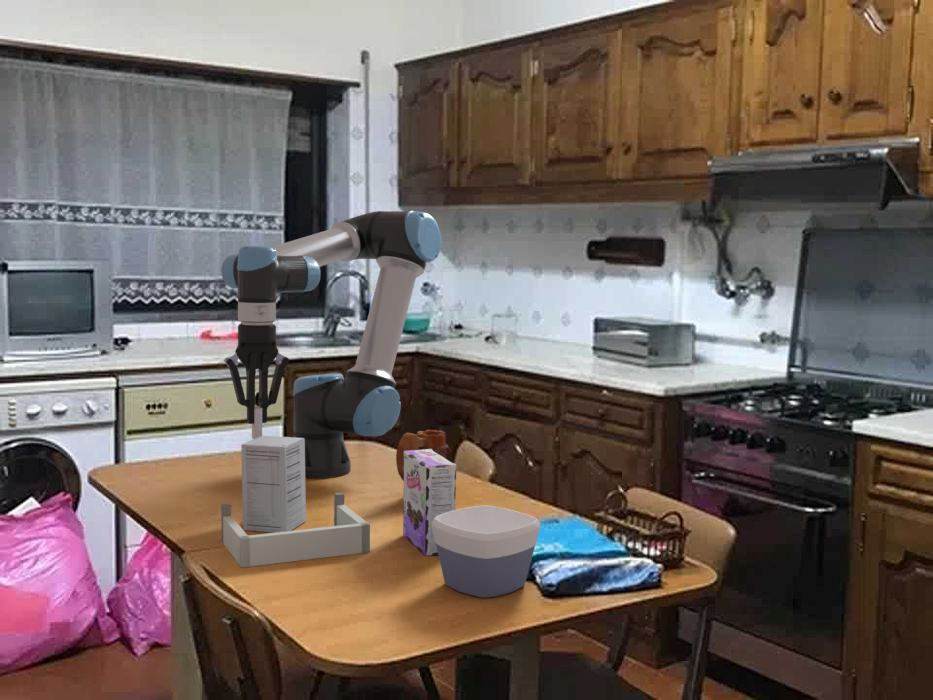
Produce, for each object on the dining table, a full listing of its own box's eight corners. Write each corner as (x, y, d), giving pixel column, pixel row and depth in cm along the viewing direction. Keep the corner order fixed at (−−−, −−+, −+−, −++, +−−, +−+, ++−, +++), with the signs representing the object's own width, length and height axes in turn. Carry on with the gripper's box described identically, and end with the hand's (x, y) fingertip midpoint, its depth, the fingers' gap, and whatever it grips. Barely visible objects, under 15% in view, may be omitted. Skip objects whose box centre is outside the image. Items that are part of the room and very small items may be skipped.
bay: (221, 541, 191) (221, 503, 190) (341, 527, 201) (341, 492, 200) (241, 567, 177) (240, 527, 176) (369, 551, 186) (370, 513, 185)
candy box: (401, 535, 197) (402, 449, 195) (431, 532, 199) (432, 447, 197) (424, 556, 184) (425, 465, 182) (456, 553, 186) (457, 463, 184)
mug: (430, 489, 231) (430, 423, 230) (458, 496, 226) (459, 428, 224) (384, 502, 220) (384, 432, 218) (412, 509, 215) (413, 437, 213)
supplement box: (307, 521, 205) (307, 437, 203) (287, 534, 196) (286, 446, 194) (263, 517, 207) (262, 434, 205) (241, 530, 199) (240, 443, 197)
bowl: (418, 584, 170) (418, 517, 169) (484, 564, 181) (485, 501, 179) (485, 609, 159) (486, 538, 158) (551, 586, 170) (553, 519, 168)
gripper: (228, 325, 203) (228, 444, 205) (293, 324, 208) (293, 440, 211) (220, 322, 210) (220, 437, 212) (284, 321, 215) (283, 434, 218)
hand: (257, 439), depth 211 cm, fingers closed
